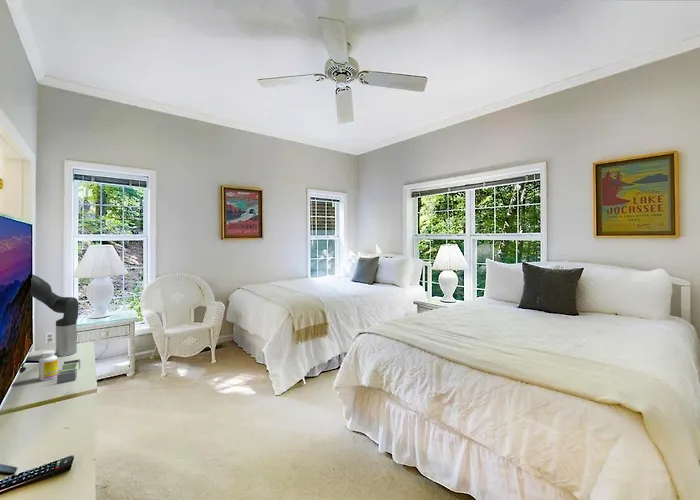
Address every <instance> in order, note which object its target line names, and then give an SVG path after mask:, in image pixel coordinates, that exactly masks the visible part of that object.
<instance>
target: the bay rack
mask: <svg viewBox="0 0 700 500" xmlns="http://www.w3.org/2000/svg"><path fill="white" fill-rule="evenodd" d="M61 368H62V370H58V375H57V377H56V381H57V382H56V383H57V384H63V383H68V382H74V381H76V380H77V377H78V374H79V373H80V372H79V371H80V369H81V359H73V360H65V361H63V364H62V365H61Z"/></svg>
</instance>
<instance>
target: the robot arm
mask: <svg viewBox="0 0 700 500" xmlns="http://www.w3.org/2000/svg"><path fill="white" fill-rule="evenodd" d="M31 274H32V273H31ZM30 294H31V297H32V298H34V299H36V300H37V301H39V302H41V303H43V304H44V305H45V306H47V308H49V309H51V310H52V312H55V313H59V314H63V316H62V318H59V319H57V320H56V321H55V356H57V357H65V356H71V355H74V354H77V352H78V351H77V350H78V347H77V346H78V345H77V344H78V343H77V342H78V341H77V340H78V339H77V335H78V334H77V333H78V332H77V329H78V328H77V321H78V319H79V307H80V305H79V304H80V303H79V300H78V299H77V298H76V297H73V296H72V297H68V296H59V295H58V294H56V293H55V292H53V290H52V287H51V285H50V284H49V282H47V281H45V279H42V278H41V277H39V276H37V275H35V274H32V278H31V287H30ZM26 370H27V367H25V366H23V365H22V368H21V370H20V372H19V373H20V374H23V373H24V372H25V371H26Z"/></svg>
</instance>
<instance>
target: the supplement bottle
mask: <svg viewBox="0 0 700 500" xmlns="http://www.w3.org/2000/svg"><path fill="white" fill-rule="evenodd" d="M58 361H59V359H58V356H56V350H54V349H53V350H45V351H42V352H41V357H40V359H39V360H38V379H39V381H49V380H53V379H57V375H58V374H59V368H58V365H59V364H58Z"/></svg>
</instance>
